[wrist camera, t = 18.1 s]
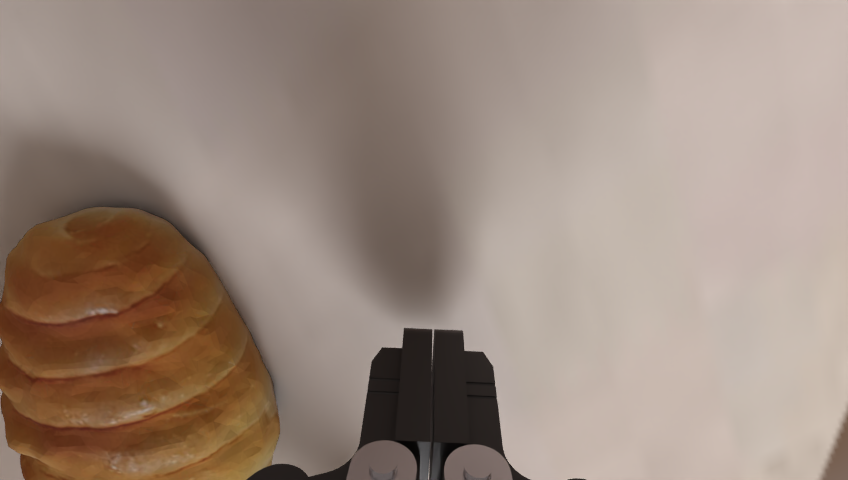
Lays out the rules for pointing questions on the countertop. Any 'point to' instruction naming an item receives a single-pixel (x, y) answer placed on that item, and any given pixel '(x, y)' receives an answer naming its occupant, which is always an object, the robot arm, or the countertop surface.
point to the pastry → (128, 357)
